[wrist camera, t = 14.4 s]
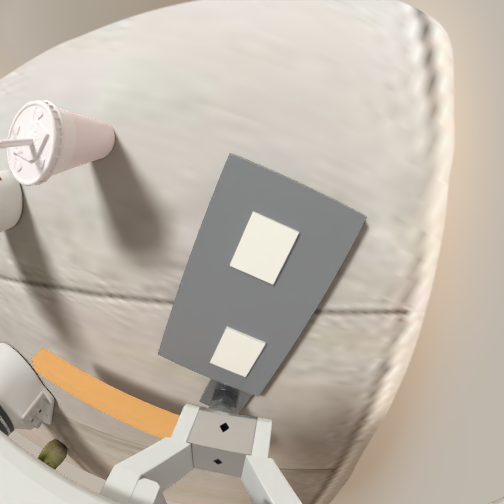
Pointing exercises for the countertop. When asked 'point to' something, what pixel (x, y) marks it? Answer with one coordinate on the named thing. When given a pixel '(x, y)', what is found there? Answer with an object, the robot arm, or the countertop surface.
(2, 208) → the milk bottle
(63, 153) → the smoothie
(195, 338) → the tray
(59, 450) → the fennel bulb
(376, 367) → the countertop surface
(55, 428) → the countertop surface
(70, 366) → the strip
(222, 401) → the pivot post
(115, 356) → the countertop surface
